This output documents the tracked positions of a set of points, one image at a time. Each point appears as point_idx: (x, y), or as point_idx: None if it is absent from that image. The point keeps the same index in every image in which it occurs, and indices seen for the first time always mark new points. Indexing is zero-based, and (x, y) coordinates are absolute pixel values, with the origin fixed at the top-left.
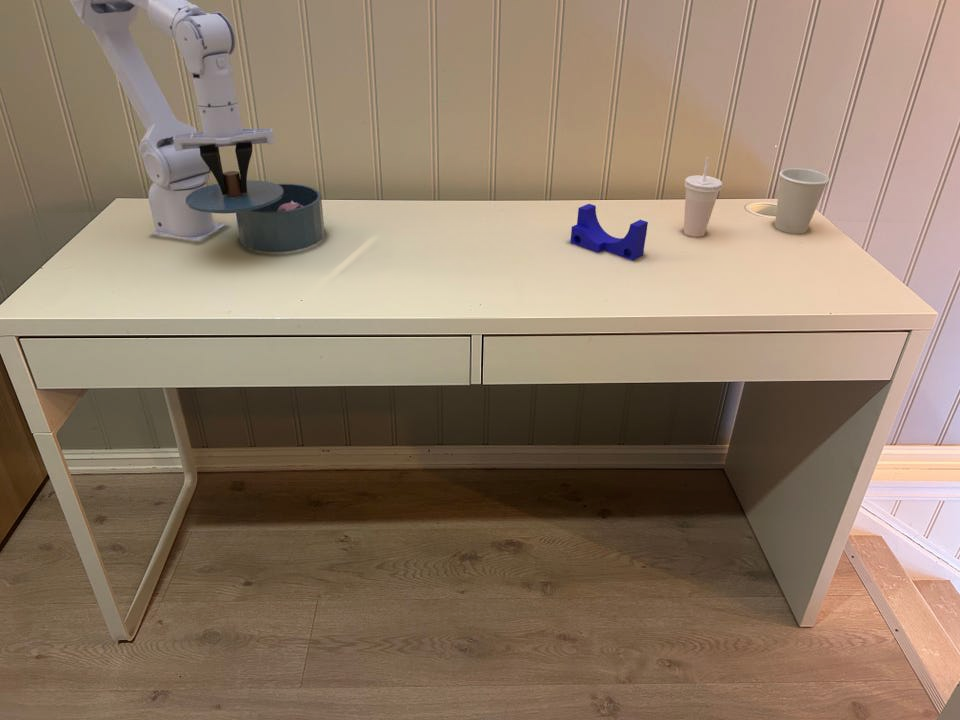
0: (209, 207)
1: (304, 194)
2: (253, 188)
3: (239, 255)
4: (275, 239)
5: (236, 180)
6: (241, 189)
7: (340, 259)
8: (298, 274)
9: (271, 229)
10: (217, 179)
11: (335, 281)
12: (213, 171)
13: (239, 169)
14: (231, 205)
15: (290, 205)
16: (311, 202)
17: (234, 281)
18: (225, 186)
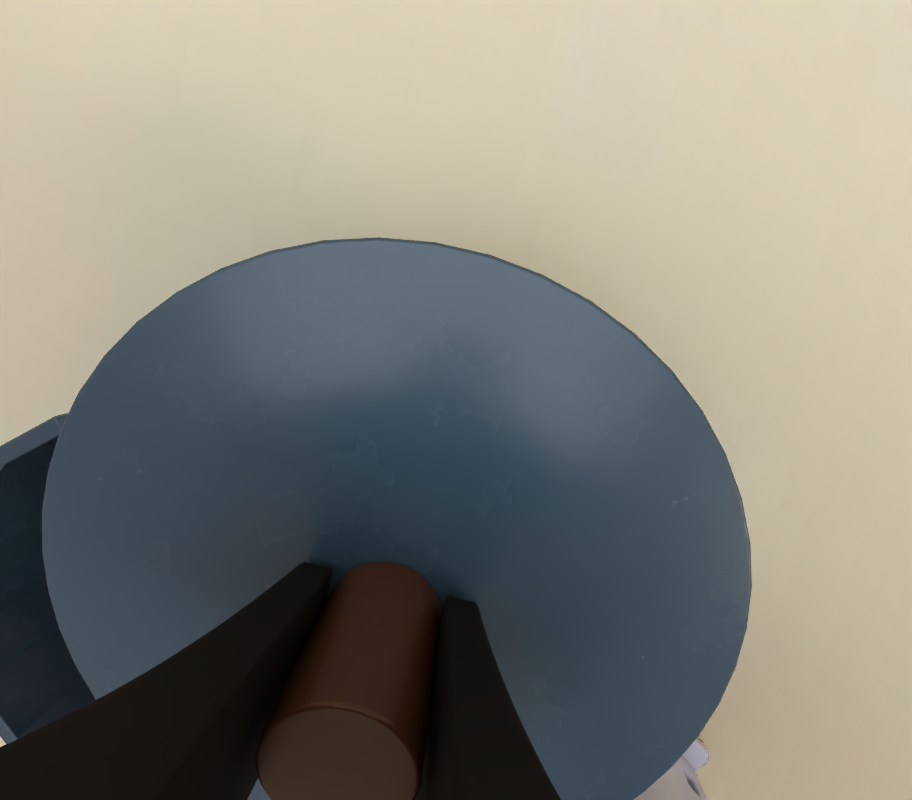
0: (634, 406)
1: (54, 695)
2: None
3: None
4: None
5: (324, 653)
6: (324, 605)
7: (106, 233)
8: (288, 160)
9: None
10: (503, 702)
11: (161, 18)
12: (543, 794)
13: (212, 717)
14: (465, 360)
15: None
16: (57, 637)
17: (536, 206)
18: (438, 656)
